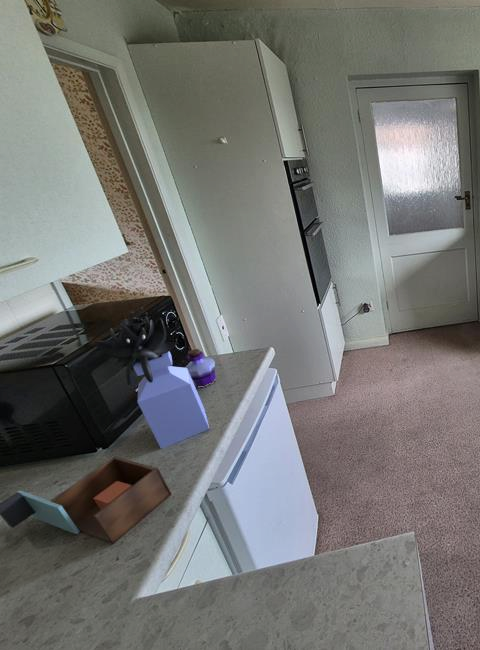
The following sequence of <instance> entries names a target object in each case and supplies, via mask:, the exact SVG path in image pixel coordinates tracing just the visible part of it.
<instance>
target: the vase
mask: <svg viewBox="0 0 480 650" xmlns="http://www.w3.org/2000/svg"><path fill="white" fill-rule="evenodd" d="M140 310H141V311H142V310H144V308H143V306H141V307H139V309H137V310H136V311H135V312H134V311H130V315H129V316H128V318H123V319H122V320H121V321H120V322H121V327H120V326H118V327H117V333H118V337H117V336H116V334H115V333H114V331H113V328H111V327H110V328H109V333H110V336H111V339H105V340H97V341H96V340H95V341H94V342H93V344H94V346H95V347H97V348H98V349H99V350H100V351H101V352H103V354H105V355H107V356H108V357H110V358H113V359H116V360H117V361H116V362H115V364H114V365H113V367H112V369H120V368H125V371H124V379H125V383H126V384H127V386H131V385H132V383H133V373H134V372H133V371H135V374H136V376H137V377H140V376H143V375H144V377H143V378H142V379H141V380H140V382H138V383H137V386H138V387H137V404H138V406H139V408H140V410H141V412H142V414H143V416H144V419H145V420H146V424H148V426H149V428H150V430H151V432H152V434H153V436H154V438H155V440H156V441H157V444H158V446H159V448H160V449H161V450H162V449H165V448H167V447H169V446H172V445H175V444H177V443H179V442H182V441H184V440H187V439H190V438H191V437H194V436H196V435H199V434H201V433H204V432H207V431H209V430H210V426H209V421H208V417H207V413H205V412H206V410H205V407H204V404H203V402H202V400H201V397H200V395H199V393H198V390H197V387H196V386H195V382H194V381H193V379H191V376H190V374H189V371H188V369H187V368H185V367H182V366H173V358H172V354H171V352H170V351H172V350H173V348H175V346H177V344H178V342H177V341H173V342H166V341H167V334H168V333H167V330H166V326H165V324H164V321H163V319H162V318H161V317H159V318H157V320H156V321H155V322H153V320H152V319H149V318H148V314H149V313H148V312H144V314H143V315H142V316H140V317H135V316H136V314H137V313H138V312H139V311H140ZM132 315H133V316H132ZM131 316H132V318H130V317H131ZM144 316H145V318H144V319H143V318H142V317H144Z"/></svg>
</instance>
